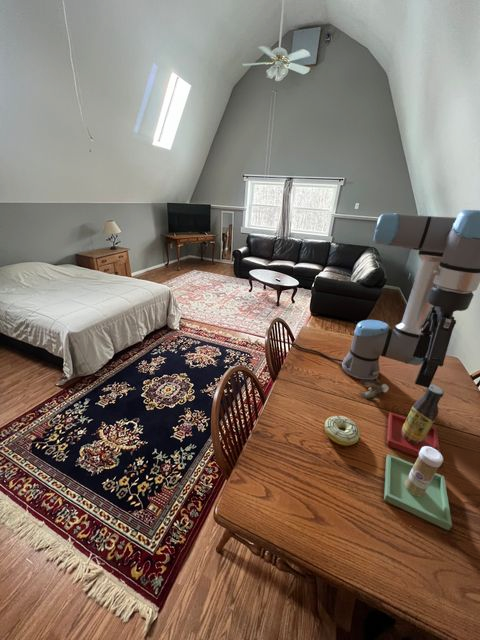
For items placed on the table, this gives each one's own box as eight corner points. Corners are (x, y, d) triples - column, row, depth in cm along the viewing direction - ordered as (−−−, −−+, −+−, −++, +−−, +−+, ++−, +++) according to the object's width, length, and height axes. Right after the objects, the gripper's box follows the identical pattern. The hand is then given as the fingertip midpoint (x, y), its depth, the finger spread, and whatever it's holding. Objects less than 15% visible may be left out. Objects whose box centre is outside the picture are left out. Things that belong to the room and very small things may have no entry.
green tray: (383, 500, 67) (386, 495, 66) (386, 458, 78) (388, 453, 77) (448, 530, 62) (452, 525, 61) (441, 481, 73) (444, 476, 72)
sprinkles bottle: (402, 489, 69) (419, 453, 64) (406, 477, 73) (423, 442, 67) (423, 501, 67) (442, 465, 61) (425, 488, 70) (444, 452, 64)
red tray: (386, 445, 83) (388, 440, 82) (388, 416, 94) (389, 412, 93) (439, 465, 77) (441, 460, 76) (434, 432, 88) (436, 428, 87)
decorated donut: (363, 434, 86) (366, 425, 84) (350, 455, 79) (353, 446, 77) (332, 416, 92) (335, 408, 91) (318, 434, 85) (320, 426, 83)
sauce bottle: (396, 432, 86) (416, 383, 78) (409, 427, 89) (429, 378, 80) (414, 449, 81) (438, 398, 73) (428, 442, 83) (452, 392, 75)
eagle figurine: (369, 381, 110) (354, 383, 105) (383, 374, 104) (368, 375, 100) (378, 399, 106) (363, 402, 101) (393, 393, 101) (378, 395, 96)
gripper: (427, 272, 69) (402, 344, 78) (438, 302, 49) (403, 393, 58) (463, 277, 66) (432, 351, 75) (491, 311, 46) (444, 406, 55)
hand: (419, 370), depth 66 cm, fingers open, 13 cm apart
